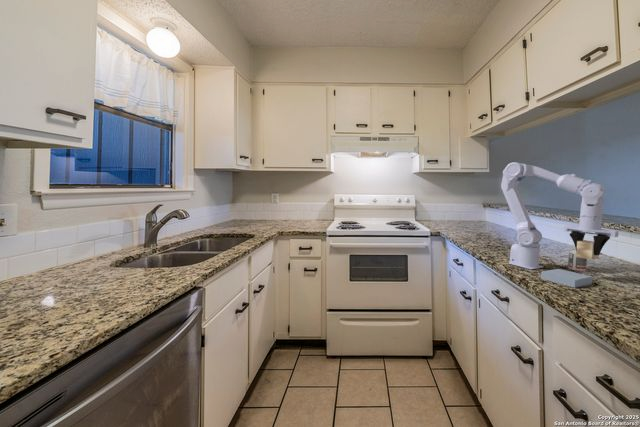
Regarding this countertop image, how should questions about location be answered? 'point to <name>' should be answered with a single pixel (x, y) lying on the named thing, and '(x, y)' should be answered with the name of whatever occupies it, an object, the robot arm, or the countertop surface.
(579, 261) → the pill bottle
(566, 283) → the slate-blue block
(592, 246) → the maple cube
